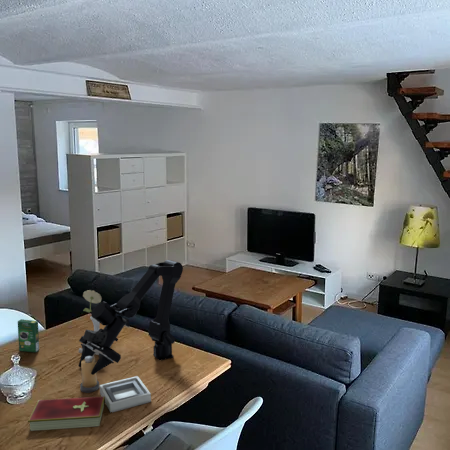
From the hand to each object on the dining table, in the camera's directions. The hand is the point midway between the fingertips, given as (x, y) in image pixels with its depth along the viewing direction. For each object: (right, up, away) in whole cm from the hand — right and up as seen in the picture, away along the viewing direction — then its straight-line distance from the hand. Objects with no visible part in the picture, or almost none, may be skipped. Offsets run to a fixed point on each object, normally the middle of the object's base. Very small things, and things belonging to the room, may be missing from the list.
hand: (85, 370), depth 164 cm
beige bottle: (+1, -7, +2) cm, 7 cm away
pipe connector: (-3, -4, +20) cm, 21 cm away
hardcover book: (-1, -11, -16) cm, 19 cm away
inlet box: (+15, -8, -4) cm, 17 cm away
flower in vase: (-6, -1, +35) cm, 35 cm away
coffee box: (-33, -2, +31) cm, 45 cm away
